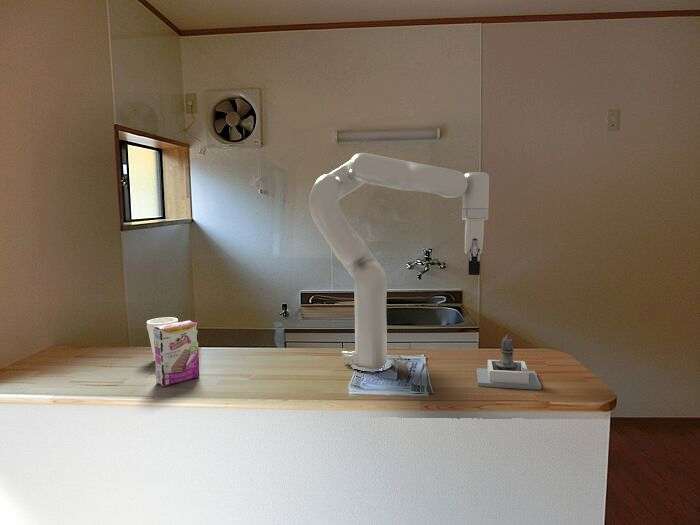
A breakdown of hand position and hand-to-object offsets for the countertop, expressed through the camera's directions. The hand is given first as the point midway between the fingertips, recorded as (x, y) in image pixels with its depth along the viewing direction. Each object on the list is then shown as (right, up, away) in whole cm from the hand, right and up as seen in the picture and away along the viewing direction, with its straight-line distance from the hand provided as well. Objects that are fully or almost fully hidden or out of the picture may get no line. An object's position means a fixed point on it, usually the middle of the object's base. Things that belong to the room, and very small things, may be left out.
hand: (474, 272), depth 153 cm
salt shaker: (+6, -29, -12) cm, 32 cm away
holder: (+6, -29, -12) cm, 32 cm away
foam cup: (-97, -29, +13) cm, 102 cm away
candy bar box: (-86, -31, -7) cm, 91 cm away
